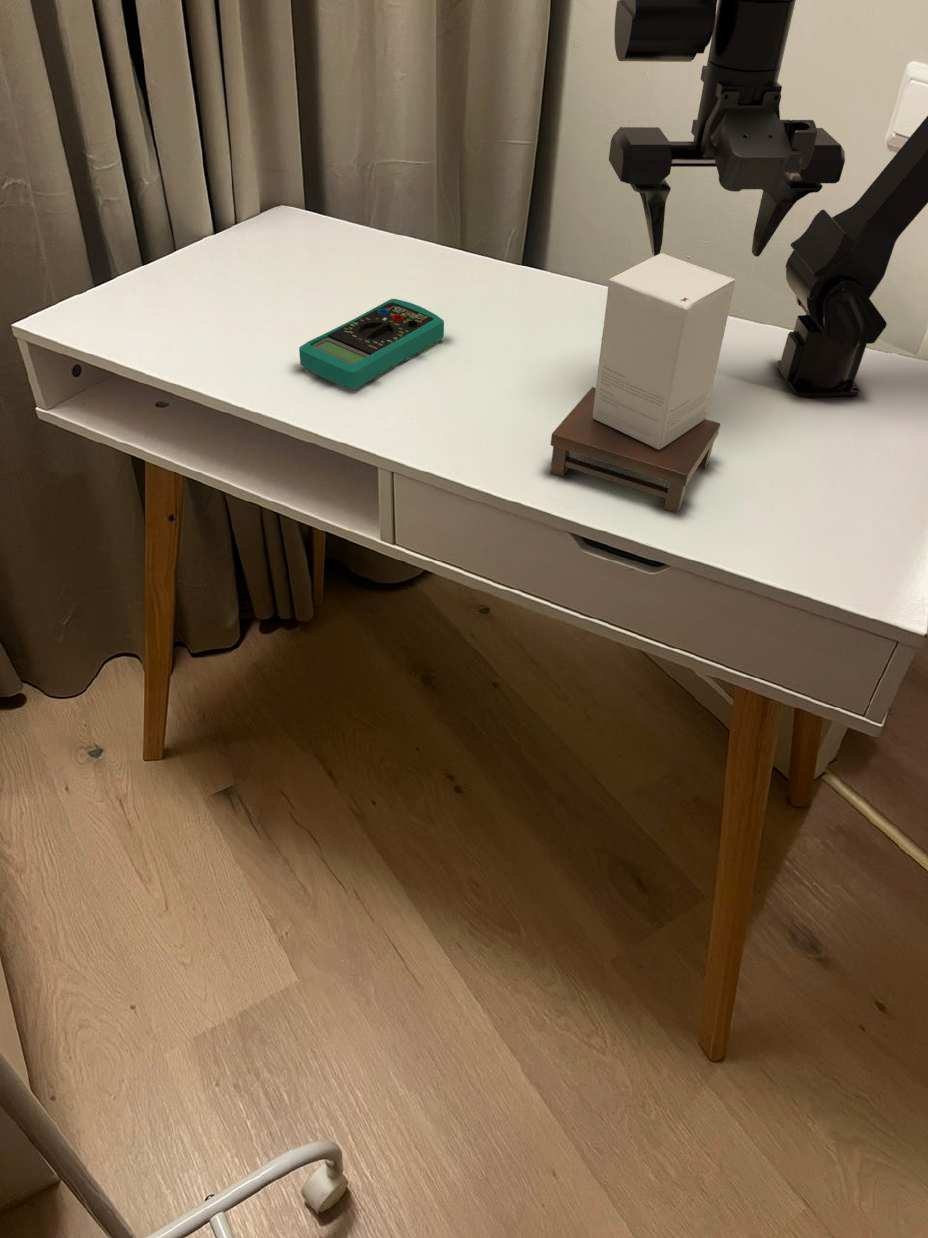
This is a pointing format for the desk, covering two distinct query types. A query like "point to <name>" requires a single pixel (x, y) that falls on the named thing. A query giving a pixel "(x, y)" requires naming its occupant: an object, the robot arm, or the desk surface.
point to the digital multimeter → (372, 343)
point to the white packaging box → (660, 348)
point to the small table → (631, 453)
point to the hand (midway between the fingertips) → (705, 255)
